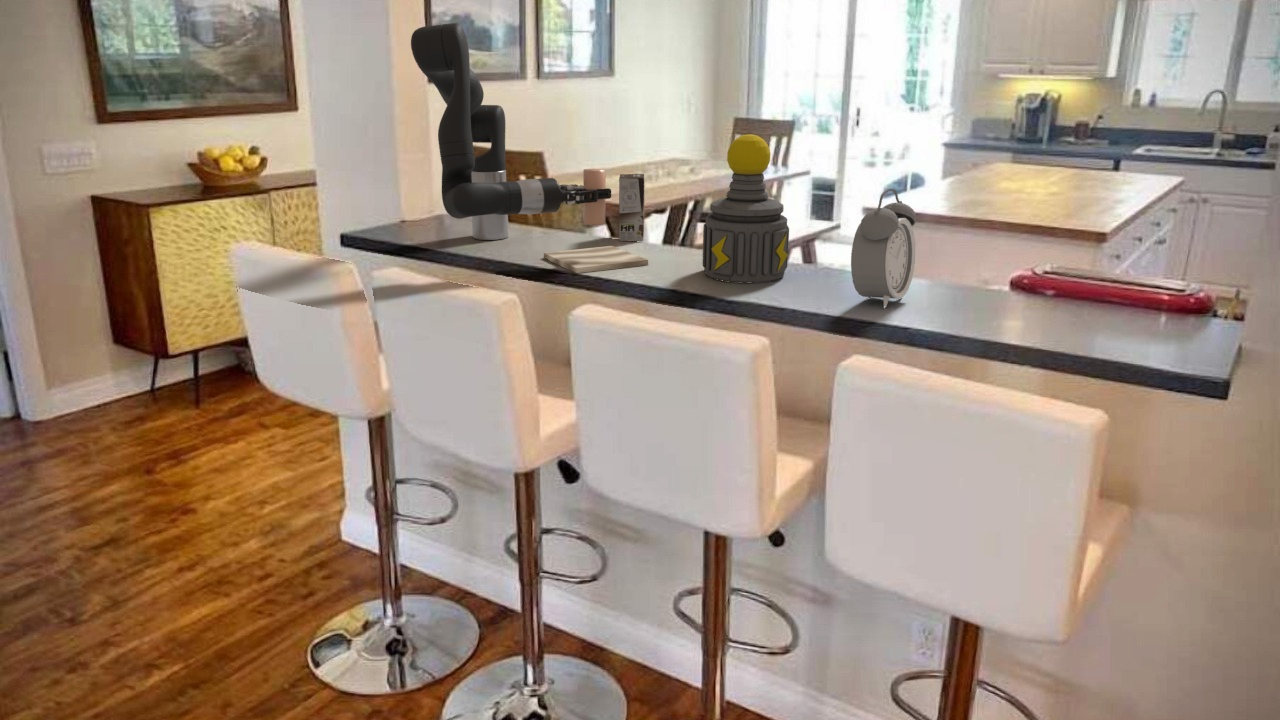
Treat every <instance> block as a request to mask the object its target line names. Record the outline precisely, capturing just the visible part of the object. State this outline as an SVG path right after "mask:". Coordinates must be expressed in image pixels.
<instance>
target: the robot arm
mask: <svg viewBox="0 0 1280 720" xmlns="http://www.w3.org/2000/svg"><path fill="white" fill-rule="evenodd" d="M410 48H411V52H412V56H413V60H415V63H416V65H417V67H418V68H419V70H420V71H421V72H422V73H423V74H424V76H426V77H427V79H428V80H429V81H430V82H431V83H432V84H433V85H434V86H435V88H436V90H437V91H438V93H439V95H440V96H441V98H442V100H443V101H444V102H445V104H446V107H445V109H444V111H443V113H442V116H441V119H440V122H439V124H438V130H437V131H438V132H437V140H438V147H439V154H440V155H439V156H440V161H441V166H442V169H441V199H442V203H443V207H444V209H445V211H446V213H447V214H448V215H449V216H450V217H452V218H455V219H459V220H460V219H461V220H462V219H467V218H471V230H472V238H473V239H476V240H480V241H482V240H483V241H491V240H493V241H494V240H497V241H498V240H501V239H507V238H509V218H508V217H509V215H518V214H519V215H536V214H548V213H556V212H558V211H559V210H560V208H561V204H562V203H563V204H564V203H565V204H566V205H574V204H575V205H581V204H583V203H590V202H597V201H598V199H606V200H607V199H608V200H609V199H611V198H612V189H611V188H609V187H608V188H605V189H595V188H593V189H586V188H585V187H583V184H580V185H578V184H575V183H572V184H565V183H564V184H559V182H558V180H557V179H556V178H555V177H548V178H547V177H546V178H544V177H542V178H529V179H528V178H527V179H521V180H515V181H514V180H513V181H512V180H511V181H507V166H506V164H507V163H506V114H505V111H504V108H503V106H501V105H497V104H482V103H483V100H484V95H485V94H484V89H483V85H482V84H481V82H480V80H479V78H478V75H476V73H475V72H474V71H473V70H472V69H471V68H470V66H471V65H470V64H471V63H470V50H469V44H468V39H467V36H466V32H465V30H464V28H463V26H462V25H461V24H459V23H457V22H451V23H443V24H434V25H427V26H421V27H418V28H417V29H415V30H414V31H413V32H412V34H411V38H410ZM474 143H477V144H478V143H479V144H481V143H482V144H483V143H484V144H485V143H487V144H491V145H490V149H489V150H487V151H486V152H484V153H483V154H479V155H476V156H475V149H474ZM590 194H591V198H590Z"/></svg>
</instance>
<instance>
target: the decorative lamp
mask: <svg viewBox="0 0 1280 720" xmlns="http://www.w3.org/2000/svg"><path fill="white" fill-rule="evenodd" d="M726 153H727V154H726V155H727V159H726V160H727V163H728V167H729V168H730V170H731V171H732V176H731V179H732V180H731V182H729V185H728V188H729V190H728V191H727V192H726V197H721V198H718V199H716V200H713V201H712V202H711V203H710V206H709V208H710V209H709V210H710V211H711V212H712V213H709V214H707V216H706V217H705V223H703V228H702V229H703V230H702V232H703V234H702V235H703V236H702V267H703V268H704V274H705V275H706V276H707V277H708V276H709V277H708V278H710V277H711V278H710V279H713V278H714V279H713V280H716V279H718V280H717V281H720V280H723V281H722V282H725V281H729V282H728V283H732V282H742V283H741V284H748V283H747V282H752V283H751V284H756V283H755V282H764V283H770V282H769V281H771V282H774V280H775V281H778V280H780V279H782V278H783V277H784V276H785V272H786V269H787V268H788V263H789V262H788V260H789V258H788V257H789V240H790V239H789V238H790V227H789V226H788V218H787V217H785V215H783V213H784V210H785V209H784V204H782V203H781V202H779V201H778V200H776V199H772V198H769V194H768V191H766V188H767V186H766V185H767V184H766V183H765V182H764V180H765V175H764V172H765V171H766V170H767V169H768V167H769V164H770V162H771V150H770V147H769V144H767V142H766V141H765V139H763V138H762V137H760V136H758V135H756V134H750V133H749V134H742V135H740V136H739V137H737V138H735V139H734V140H732V143H731V144H730V145H729V147H728V150H727V152H726Z"/></svg>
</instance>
